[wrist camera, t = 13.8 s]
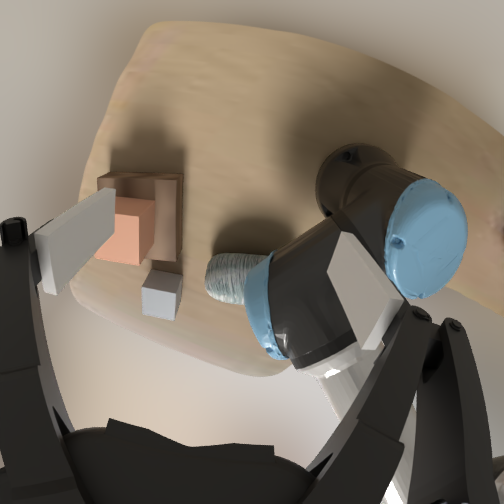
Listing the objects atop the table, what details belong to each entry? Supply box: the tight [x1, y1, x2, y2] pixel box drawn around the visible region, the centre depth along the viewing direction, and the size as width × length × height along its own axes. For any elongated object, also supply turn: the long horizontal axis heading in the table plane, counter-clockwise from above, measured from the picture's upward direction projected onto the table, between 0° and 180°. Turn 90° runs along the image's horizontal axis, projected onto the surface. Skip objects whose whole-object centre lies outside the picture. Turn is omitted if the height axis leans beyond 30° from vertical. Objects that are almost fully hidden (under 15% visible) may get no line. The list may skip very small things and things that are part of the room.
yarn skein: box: [205, 253, 268, 305], centre depth 46 cm, size 14×10×10 cm
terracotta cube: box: [95, 196, 155, 266], centre depth 37 cm, size 7×7×7 cm
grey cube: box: [142, 269, 183, 321], centre depth 48 cm, size 6×6×6 cm
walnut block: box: [97, 172, 183, 262], centre depth 42 cm, size 13×13×5 cm
